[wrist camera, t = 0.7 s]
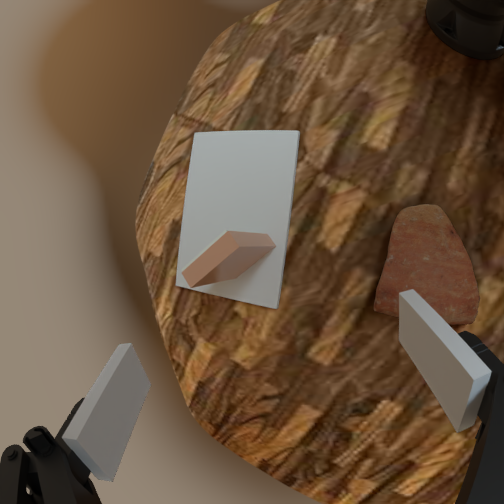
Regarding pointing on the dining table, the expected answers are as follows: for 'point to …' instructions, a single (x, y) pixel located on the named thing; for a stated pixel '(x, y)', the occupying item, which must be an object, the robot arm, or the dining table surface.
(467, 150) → the dining table surface
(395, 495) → the dining table surface
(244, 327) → the dining table surface
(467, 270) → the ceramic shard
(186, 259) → the grey mat
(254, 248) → the terracotta tile
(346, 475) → the dining table surface
